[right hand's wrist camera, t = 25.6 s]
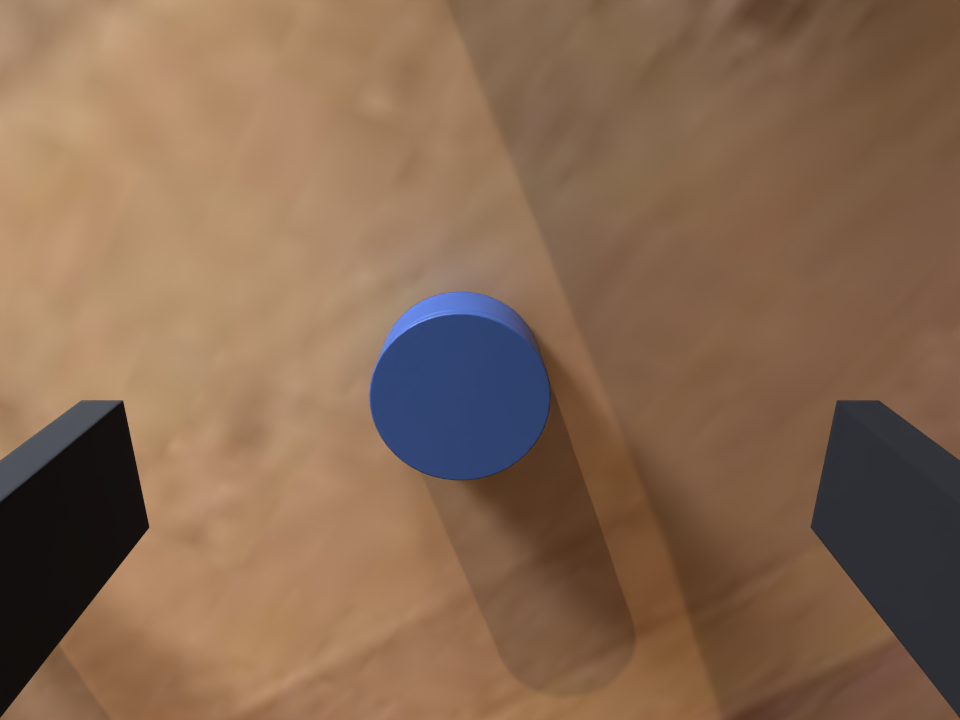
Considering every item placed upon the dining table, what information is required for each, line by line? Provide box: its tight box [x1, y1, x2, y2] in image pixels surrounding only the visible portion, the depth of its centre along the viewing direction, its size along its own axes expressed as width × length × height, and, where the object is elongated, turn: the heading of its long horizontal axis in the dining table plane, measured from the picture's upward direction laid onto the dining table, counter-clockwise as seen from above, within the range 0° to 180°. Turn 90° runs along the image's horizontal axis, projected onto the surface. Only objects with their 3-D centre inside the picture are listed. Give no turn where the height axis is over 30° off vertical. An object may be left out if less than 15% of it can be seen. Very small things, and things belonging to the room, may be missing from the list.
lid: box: [370, 292, 551, 480], centre depth 19 cm, size 5×5×2 cm
